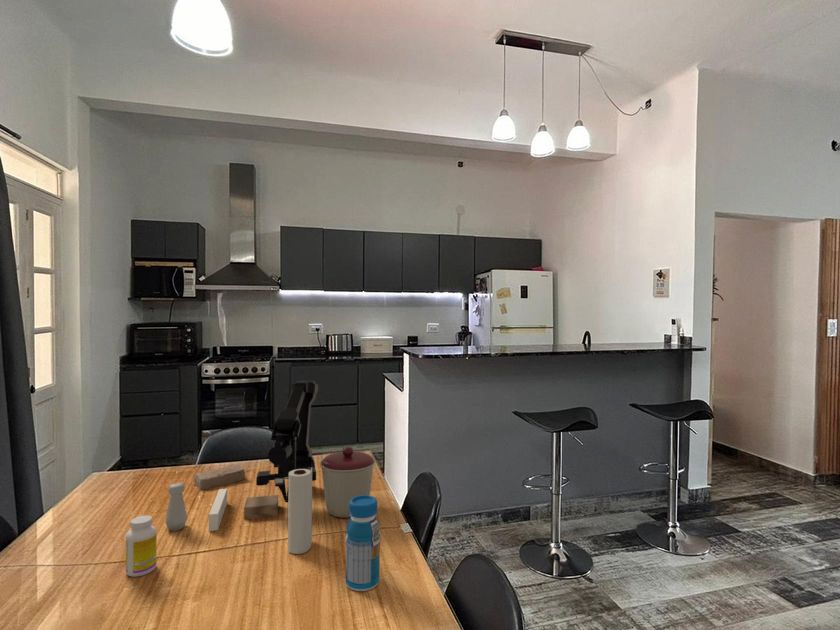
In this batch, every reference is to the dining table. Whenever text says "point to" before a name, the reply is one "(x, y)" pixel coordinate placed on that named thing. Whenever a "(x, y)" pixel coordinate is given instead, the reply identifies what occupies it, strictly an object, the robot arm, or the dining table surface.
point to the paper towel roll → (300, 511)
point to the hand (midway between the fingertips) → (286, 502)
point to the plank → (217, 510)
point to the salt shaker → (176, 508)
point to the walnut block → (261, 507)
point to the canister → (345, 479)
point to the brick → (219, 476)
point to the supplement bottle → (140, 547)
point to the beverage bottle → (362, 544)
